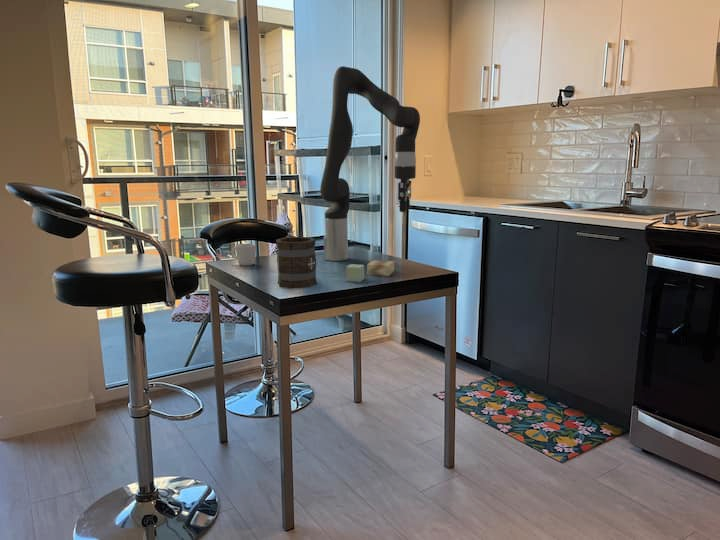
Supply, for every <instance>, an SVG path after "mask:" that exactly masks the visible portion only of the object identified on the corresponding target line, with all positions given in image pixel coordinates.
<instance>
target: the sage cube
mask: <svg viewBox="0 0 720 540" xmlns="http://www.w3.org/2000/svg"><path fill="white" fill-rule="evenodd" d="M345 268H346V269H345V272H346V273H345V275H346V276H345V277H346V279H345V280H346V282H355V283H357V282H358V283H360V282H362V281H363V280H364V279H365V265H364V264H355V263H354V264H352V263H350V264H348V265H347V266H346V267H345Z"/></svg>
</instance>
